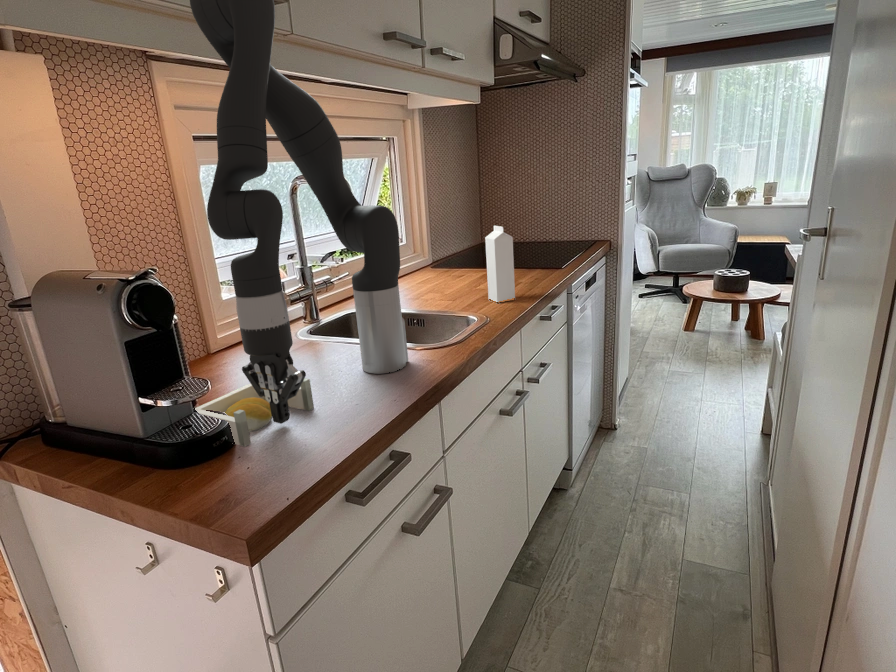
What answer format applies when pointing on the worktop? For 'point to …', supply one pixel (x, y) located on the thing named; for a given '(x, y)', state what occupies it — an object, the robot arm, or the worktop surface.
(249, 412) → the bread roll
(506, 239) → the milk
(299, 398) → the holder
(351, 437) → the worktop surface
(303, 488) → the worktop surface
